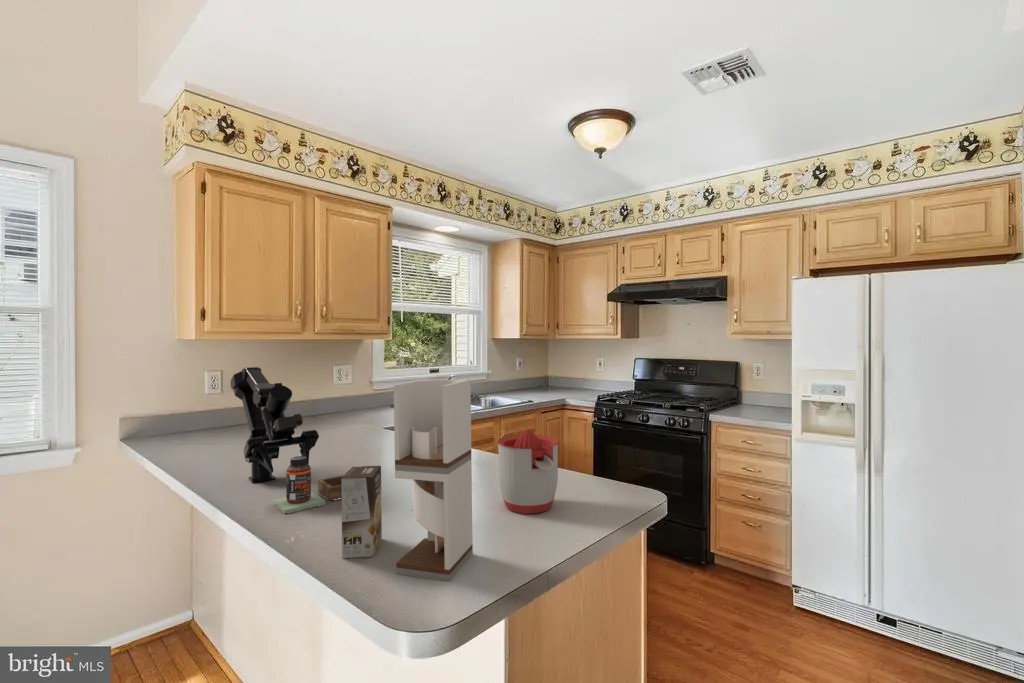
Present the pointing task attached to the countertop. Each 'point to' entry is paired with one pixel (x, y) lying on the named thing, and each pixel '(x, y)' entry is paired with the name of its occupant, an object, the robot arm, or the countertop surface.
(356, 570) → the countertop surface
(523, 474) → the citrus juicer
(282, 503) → the sage rubber mat
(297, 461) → the supplement bottle
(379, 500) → the coffee box
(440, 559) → the white tiered shelf stand
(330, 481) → the walnut collar
